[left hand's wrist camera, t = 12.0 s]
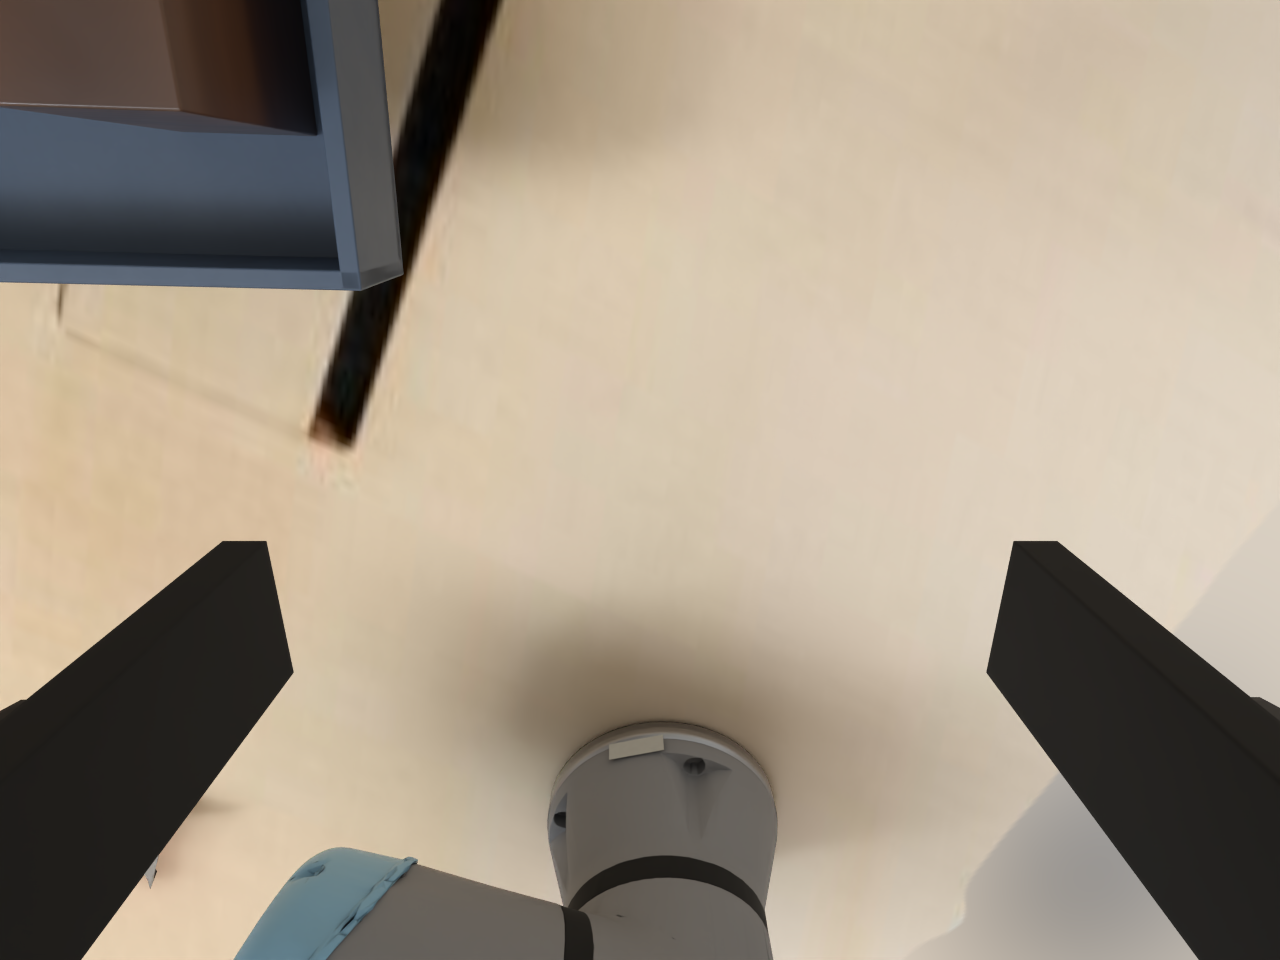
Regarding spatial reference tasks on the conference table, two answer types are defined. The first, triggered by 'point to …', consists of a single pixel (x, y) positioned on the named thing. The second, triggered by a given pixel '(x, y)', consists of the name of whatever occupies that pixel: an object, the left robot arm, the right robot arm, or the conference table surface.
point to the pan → (215, 187)
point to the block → (160, 63)
